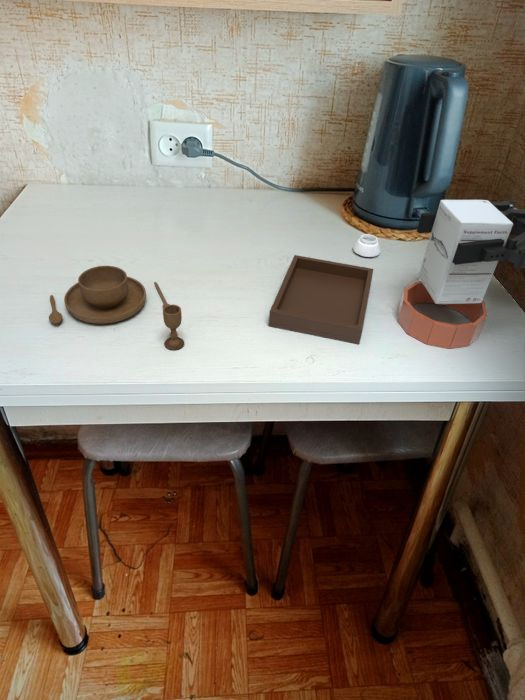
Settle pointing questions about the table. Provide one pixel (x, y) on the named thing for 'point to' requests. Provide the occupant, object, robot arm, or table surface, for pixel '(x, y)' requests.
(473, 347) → the table surface
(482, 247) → the robot arm
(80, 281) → the place setting
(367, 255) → the white jar
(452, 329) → the terracotta ring
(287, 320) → the tray
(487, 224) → the white packaging box
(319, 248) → the table surface
